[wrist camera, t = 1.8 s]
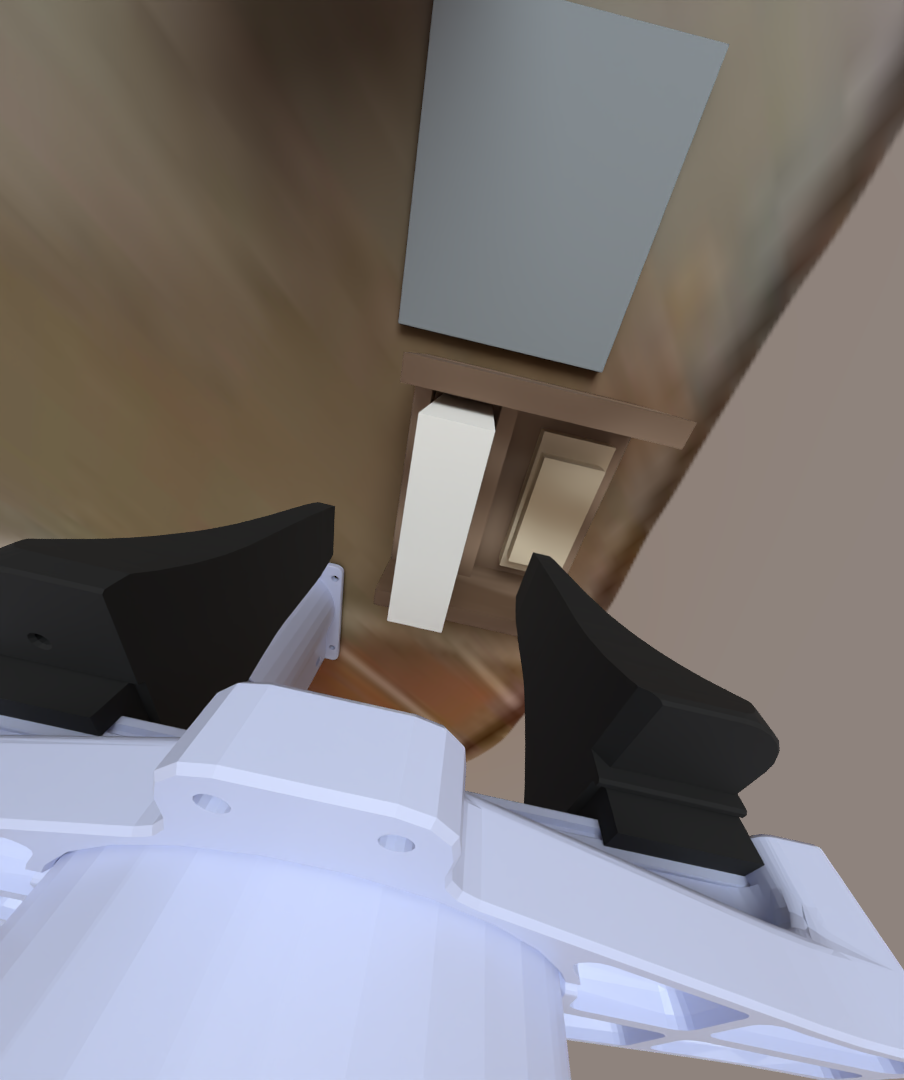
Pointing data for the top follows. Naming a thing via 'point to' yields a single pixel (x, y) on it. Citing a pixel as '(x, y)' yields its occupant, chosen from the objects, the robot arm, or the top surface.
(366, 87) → the top surface
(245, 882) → the robot arm
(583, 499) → the offcut upper
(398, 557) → the board
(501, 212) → the mat
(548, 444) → the offcut lower
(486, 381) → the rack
